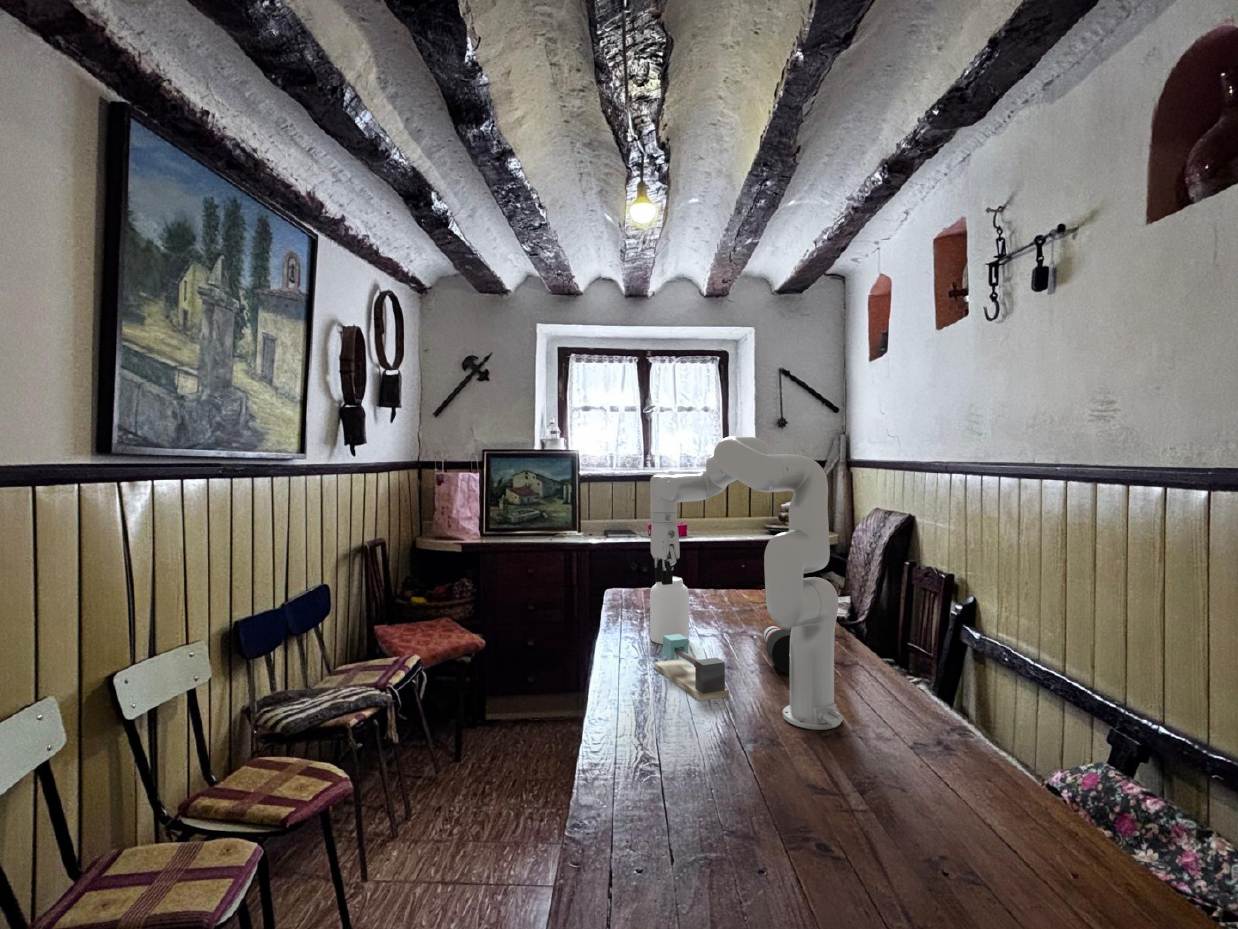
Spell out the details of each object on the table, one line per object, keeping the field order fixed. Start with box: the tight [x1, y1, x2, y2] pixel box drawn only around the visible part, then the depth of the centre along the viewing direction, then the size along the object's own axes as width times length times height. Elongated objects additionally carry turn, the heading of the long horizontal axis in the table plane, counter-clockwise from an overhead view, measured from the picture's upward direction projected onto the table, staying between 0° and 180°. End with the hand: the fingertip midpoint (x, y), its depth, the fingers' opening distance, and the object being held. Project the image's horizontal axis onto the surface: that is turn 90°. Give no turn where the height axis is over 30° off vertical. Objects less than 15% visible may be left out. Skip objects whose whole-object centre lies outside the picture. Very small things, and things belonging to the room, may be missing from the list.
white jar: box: [649, 575, 690, 645], centre depth 208 cm, size 12×12×20 cm
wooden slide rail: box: [653, 647, 729, 702], centre depth 170 cm, size 26×8×8 cm, turn 22°
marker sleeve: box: [662, 634, 689, 661], centre depth 177 cm, size 5×5×5 cm
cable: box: [763, 625, 791, 675], centre depth 190 cm, size 10×34×10 cm, turn 173°
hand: (663, 582), depth 183 cm, fingers open, 3 cm apart
